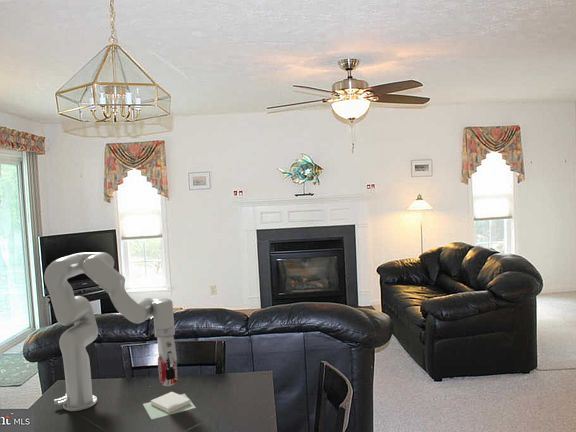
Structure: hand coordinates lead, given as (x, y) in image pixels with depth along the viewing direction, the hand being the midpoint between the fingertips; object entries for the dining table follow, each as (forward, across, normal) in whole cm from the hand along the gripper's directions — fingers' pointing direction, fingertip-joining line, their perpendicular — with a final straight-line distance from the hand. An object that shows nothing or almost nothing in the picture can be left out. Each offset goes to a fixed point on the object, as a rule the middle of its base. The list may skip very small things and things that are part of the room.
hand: (168, 375), depth 199 cm
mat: (+12, 0, +1) cm, 12 cm away
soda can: (+3, 0, 0) cm, 3 cm away
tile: (+11, -2, +4) cm, 12 cm away
